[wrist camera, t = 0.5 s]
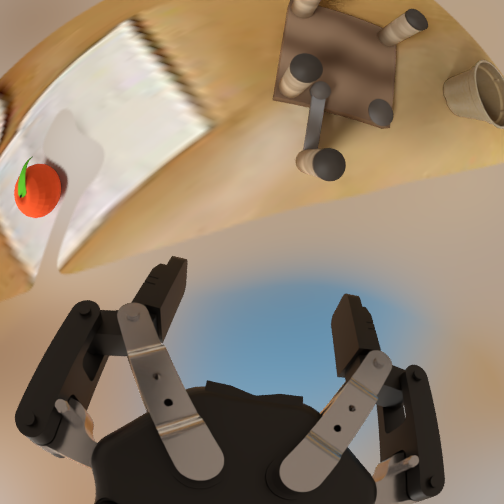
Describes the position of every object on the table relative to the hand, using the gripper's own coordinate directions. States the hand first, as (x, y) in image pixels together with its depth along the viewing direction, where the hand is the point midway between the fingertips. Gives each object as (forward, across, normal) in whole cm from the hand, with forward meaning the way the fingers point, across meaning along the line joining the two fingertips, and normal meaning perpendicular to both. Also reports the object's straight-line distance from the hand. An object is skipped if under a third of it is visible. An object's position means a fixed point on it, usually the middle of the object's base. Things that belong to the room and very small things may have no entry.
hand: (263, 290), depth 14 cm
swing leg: (+20, -3, -6) cm, 21 cm away
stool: (+24, -4, -15) cm, 29 cm away
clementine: (+16, +29, +4) cm, 34 cm away
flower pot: (+28, -24, -19) cm, 41 cm away
